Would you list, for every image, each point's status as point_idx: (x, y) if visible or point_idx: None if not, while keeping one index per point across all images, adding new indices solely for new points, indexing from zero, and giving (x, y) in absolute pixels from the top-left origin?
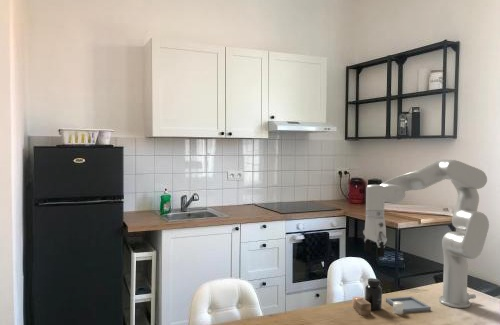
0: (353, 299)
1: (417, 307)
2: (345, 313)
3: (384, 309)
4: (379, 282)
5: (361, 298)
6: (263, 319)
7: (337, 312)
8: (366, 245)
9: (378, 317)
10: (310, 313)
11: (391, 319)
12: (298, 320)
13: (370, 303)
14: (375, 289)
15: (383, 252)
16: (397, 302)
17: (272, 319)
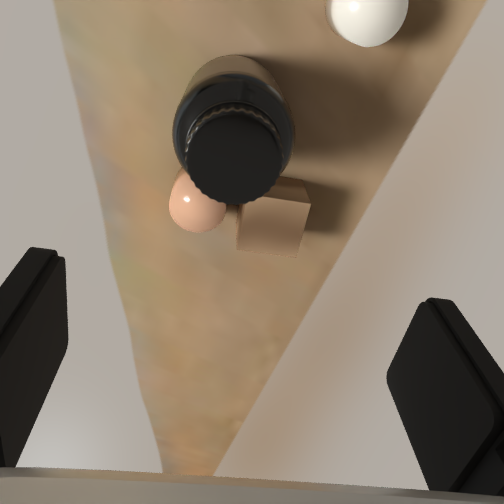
0: (195, 230)
1: None
2: (244, 277)
3: (280, 54)
4: (275, 129)
5: None
6: None
7: (222, 300)
8: (32, 416)
9: (349, 169)
10: (194, 385)
11: (402, 124)
12: (236, 434)
13: (307, 204)
14: (284, 166)
15: (473, 351)
16: (362, 4)
17: None
